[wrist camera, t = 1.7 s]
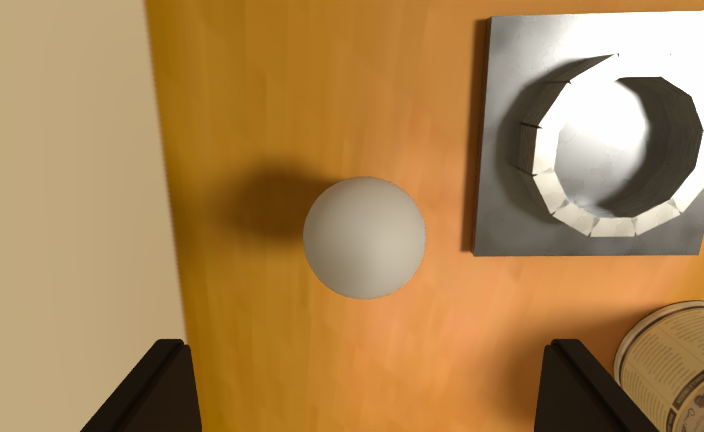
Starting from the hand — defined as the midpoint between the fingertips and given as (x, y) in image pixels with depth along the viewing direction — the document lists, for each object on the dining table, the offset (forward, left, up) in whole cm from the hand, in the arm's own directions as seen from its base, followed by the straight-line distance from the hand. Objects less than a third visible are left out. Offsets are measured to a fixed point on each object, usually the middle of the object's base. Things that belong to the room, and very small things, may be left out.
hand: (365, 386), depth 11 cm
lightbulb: (0, 0, -19) cm, 19 cm away
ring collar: (-4, +15, -18) cm, 24 cm away
